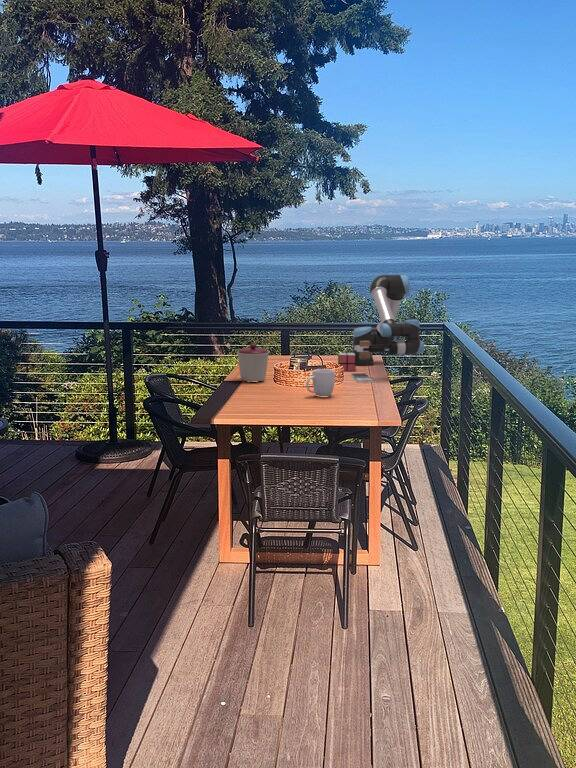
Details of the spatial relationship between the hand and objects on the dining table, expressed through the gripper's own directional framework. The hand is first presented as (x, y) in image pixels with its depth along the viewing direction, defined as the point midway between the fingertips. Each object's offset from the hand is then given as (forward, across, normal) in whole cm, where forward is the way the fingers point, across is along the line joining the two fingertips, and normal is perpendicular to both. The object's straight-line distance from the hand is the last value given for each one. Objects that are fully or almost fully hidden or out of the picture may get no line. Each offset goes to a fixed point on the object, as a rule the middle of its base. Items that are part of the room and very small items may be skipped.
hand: (355, 348), depth 442 cm
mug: (+28, -42, -18) cm, 54 cm away
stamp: (-5, 0, -6) cm, 8 cm away
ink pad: (-5, +11, -18) cm, 22 cm away
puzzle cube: (-3, +35, -18) cm, 40 cm away
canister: (+57, +5, -18) cm, 60 cm away
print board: (-5, 0, -18) cm, 19 cm away
